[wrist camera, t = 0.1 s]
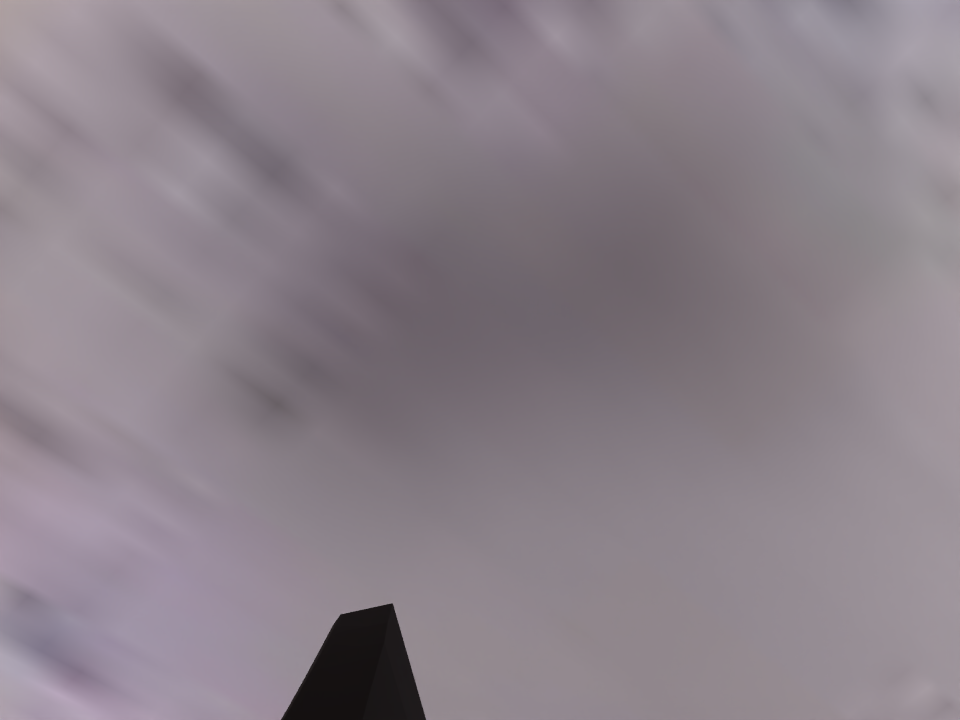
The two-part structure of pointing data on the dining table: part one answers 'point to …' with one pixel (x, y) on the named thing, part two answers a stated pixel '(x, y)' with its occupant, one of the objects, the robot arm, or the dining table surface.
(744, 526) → the dining table surface
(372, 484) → the dining table surface
